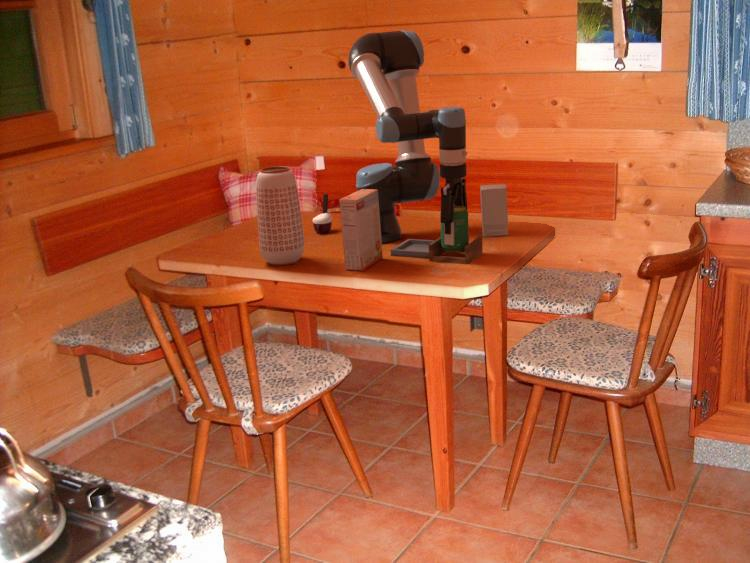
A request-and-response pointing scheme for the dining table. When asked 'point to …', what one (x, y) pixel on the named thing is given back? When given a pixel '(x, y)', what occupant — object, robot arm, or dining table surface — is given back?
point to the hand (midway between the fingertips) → (454, 240)
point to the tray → (412, 248)
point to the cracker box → (361, 229)
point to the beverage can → (457, 230)
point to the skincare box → (494, 210)
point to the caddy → (470, 251)
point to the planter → (279, 216)
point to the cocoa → (323, 218)
